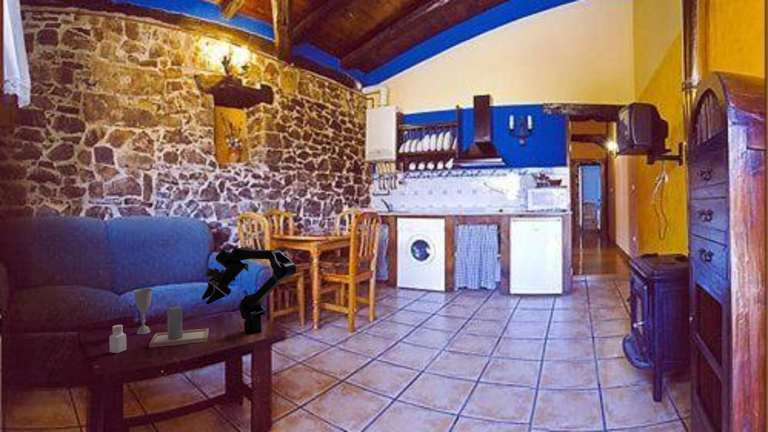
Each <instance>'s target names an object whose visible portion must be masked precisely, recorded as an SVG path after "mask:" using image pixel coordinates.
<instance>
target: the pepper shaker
mask: <svg viewBox="0 0 768 432" xmlns="http://www.w3.org/2000/svg"><path fill="white" fill-rule="evenodd" d="M123 326H124V325H122V324H116V325H113V326H112V334H110V336H109V339H108V340H109V352H110V353H113V354H119V353H121V352H124V351H126V350H127V334H126V333H124V331H123V330H124V328H123Z"/></svg>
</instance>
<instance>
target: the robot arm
mask: <svg viewBox="0 0 768 432" xmlns="http://www.w3.org/2000/svg"><path fill="white" fill-rule="evenodd" d="M245 260H246V261H248V260H269V262H270V268H271V269H272V275H271V276H270V277H269V278H268V279H267V280H266V282H264V283H263V285H261V286H260V287H259V289H258V290H257V291H256V292H253V293H250V294H247V295H245V296H244V297H243V299H240V303H239V307H238V308H239V312H240V315H241V318H242V319H244V320H243V327H244V329H243V330H244V332H245V334H246V335H247V334H256V333H257V334H258V333H262V331H263V330H262V316H264V315H265V313H266V310H265V308H264V306H263V304H264V303H263V301H264V300H265V299H266V298H267V297H268V296H269V295H270V294H271V293H272V292H273V291H274V290H275V289H276V288H277V287H278V286H279V285H280V284H281V283H282V282H283V281H285V280H288V279H289V278H292V276H294V275H295V274H296V273H297V266H296V264H295V263H294V262H293V261H292V260H291V259H290V258H289V257H288V256H286V255H285V254H283V253H282V251H281V250H280V249H277V248H276V249H253V248H251V247H248V246H242V247H234V248H233V249H232V251H229V250H228V249H227V248H222V249H221V251H220V252H218V253H217V254H216V255H215V262H217V263H218V264H219V265H220V266H222V267H223V268H225V269H221V270H220V269H219V268H216V267H214V268H210V267H207V269H206V271H205V272H204V275H206V276H207V277H209V278H208V279H207V283H206V284H207V288H206V289H205V291H204V293H203V295H202V296H201V300H203V301H204V300H206V299H207V300H206V301H205V304H206V305H210V304H212V303H214V302H216V301H218V300H220V299H222V298H224V297H225V298H226V297H227V296H230V294H231V293H232V289H231V288H230V285H231V284H232V282H235V281H236V278H237V277H238V276H240V274H241V273H242V271H243V270H245V271H246V272H248V271H249V264H248V263H247V262H242V261H245ZM279 262H280V263H279Z"/></svg>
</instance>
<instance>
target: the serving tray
mask: <svg viewBox="0 0 768 432" xmlns="http://www.w3.org/2000/svg"><path fill="white" fill-rule="evenodd" d="M209 332H210V328H209V327H207V328H200V329H199V328H198V329H187V330H182V338H180V339H176V340H169V339H168V331H166V332H156V333H155V334H154V335H153V337H152V338H151V339H150V341H149V343H148V348H158V347H159V348H161V347H166V346H167V347H168V346H169V347H170V346H177V345H178V346H179V345H188V344H189V345H190V344H196V343H197V344H198V343H206V342H207V341H208V337H209Z"/></svg>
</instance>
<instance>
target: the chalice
mask: <svg viewBox="0 0 768 432" xmlns="http://www.w3.org/2000/svg"><path fill="white" fill-rule="evenodd" d="M152 291H153V288H149V287H148V288H146V287H145V288H138V289H134V290H133V291H132V292H133V294H134V304H135V307H136V310H138V311H139V312H140V313H141V317H140V318H141V321H140V322H141V326H139V328H138V330H137V332H136V334H137V335H146V334H149V333H151V330H150V327H149V326H148V325H145V324H146V322H147V320H146V314H145V312H147V311H148V309H149V307H150V306H151V303H152Z"/></svg>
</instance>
